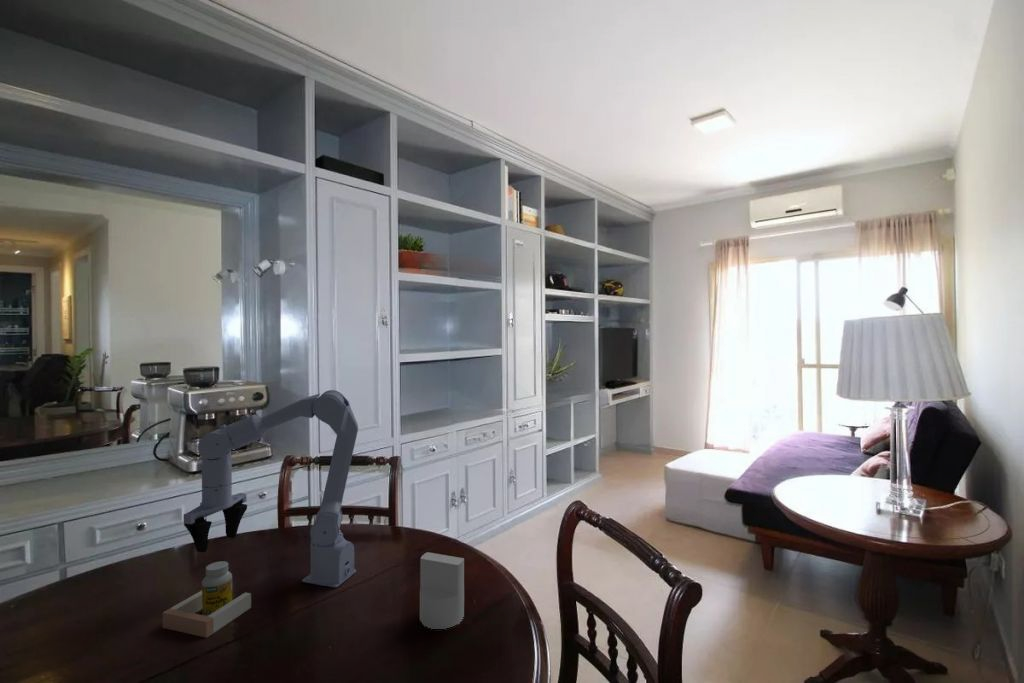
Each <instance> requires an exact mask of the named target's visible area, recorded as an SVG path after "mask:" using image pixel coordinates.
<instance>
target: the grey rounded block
mask: <svg viewBox="0 0 1024 683" xmlns="http://www.w3.org/2000/svg"><path fill="white" fill-rule="evenodd" d="M419 568H420V569H419V570H420V571H419V572H420V576H419V577H420V578H419V581H420V582H419V584H420V588H419V622H420V621H421V622H422V624H423V625H424V626H423V625H422V624H421V625H422V626H423V627H425V626H426V627H428V628H427V629H429V628H431V629H430V630H432V629H445V630H447V629H446V628H450V627H453V626H455V625H457V624H458V625H460V624H461V623H462V622H463V620H464V618H465V558H464V557H458V556H452V555H446V554H440V553H435V552H425V553H424V554H422V555H421V557H420V567H419ZM463 617H464V618H463ZM462 619H463V620H462ZM461 621H462V622H461ZM421 622H420V623H421ZM460 622H461V623H460ZM458 625H457V626H458ZM426 627H425V628H426ZM455 627H456V626H455ZM453 628H454V627H453ZM450 629H451V628H450Z"/></svg>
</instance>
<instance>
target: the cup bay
mask: <svg viewBox="0 0 1024 683" xmlns="http://www.w3.org/2000/svg"><path fill="white" fill-rule="evenodd" d="M249 609H252V593H250V592H246V591H245V592H243V593H242V594H241V595H239V596H237V597H236V598H234V599H232V601H231V602H229V603H228V604H226V605H225V606H223V607H221V608H220V609H218V610H217V611H215V612H213V613H212V614H210V615H209V616H204V615H203V614H199V613H197V612H200V611H202V590H200V591H199V592H197V593H195V594H193V595H191V596H190V597H188V598H186V599H184V600H183V601H181V602H179V603H177V604H175V605H174V606H172V607H170V608H168V609H166V610H164V611H163V612H162V629H166V630H171V631H176V632H180V633H184V634H188V635H194V636H197V637H201V638H209V637H210V636H211V635H213V634H215V633H216V632H218V631H219V630H221V629H222V628H223V627H225V626H226V625H228V624H229V623H230V622H232V621H233V620H235V619H237V618H238V617H240V616H241V615H242V614H244V613H245V612H247V611H249Z"/></svg>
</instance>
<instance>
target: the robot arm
mask: <svg viewBox="0 0 1024 683" xmlns="http://www.w3.org/2000/svg"><path fill="white" fill-rule="evenodd" d="M350 404H351V403H350V401H349V400H348V399H347V398H346V397H345V395H344V394H342V393H341V392H340V391H337V390H333V389H331V390H326V391H324V392H322V394H321V393H316V394H313V395H310V396H307V397H304V398H301V399H299V400H297V401H294V402H293V403H290V404H287V405H285V406H284V407H281V408H279V409H277V410H275V411H272V412H270V413H267V414H266V415H264V416H261V415H258V414H251V415H249V414H248V413H247V414H244V415H242V416H241V418H240V420H237V421H235V422H233V423H230V424H228V425H227V424H223V425H221V426H219V429H214V430H213V431H211V432H209V433H207V434H206V435H204V436H203V437H202V438H201V439H199V442H198V445H197V450H198V453H199V454H200V456H201V460H202V461H201V462H202V463H201V502H200V503H199V505H198V506H197V507H194V509H192V510H189V511H188V512H186V513H184V514H183V525H184V527H185V528H186V529H187V530H186V531H188V532H189V534H190V535H191V538H192V540H193V543H194V546H195V550H196V552H198V553H205V552H207V551H208V547H209V545H208V544H209V533H210V529H211V526H212V524H213V521H210V520H207V519H206V517H207V518H208V517H209V516H212V515H215V514H216V513H218V512H221V511H222V513H223V518H224V524H225V536H226V538H231V539H235V538H236V537H237V534H238V529H239V527H240V523H241V521H242V519H243V516H244V515H245V513H246V511H247V510H248V504H245V503H246V502H247V493H244V492H243V493H242V492H238V493H236V494H232V492H233V491H232V490H233V489H232V488H233V487H232V483H233V482H232V481H233V480H232V476H233V475H232V473H233V472H232V468H233V467H232V464H233V463H232V450H237V449H240V448H242V447H244V446H246V445H249V444H251V443H253V442H256V441H258V440H260V439H263V438H265V436H266V435H267V432H268V430H269V429H271V428H274V427H277V426H279V425H282V424H284V423H287V422H289V421H292V420H295V419H296V418H300V417H303V418H308V419H313V418H314V417H316V418H317V419H318V420H320V421H321V422H322V423H325V424H327V425H328V426H329V427H330V429H332V431H333V432H334V433H335V434H336V439H335V443H334V448H333V451H332V454H331V455H332V456H331V460H330V464H329V470H328V473H327V478H326V483H325V488H324V492H323V496H322V499H321V500H322V501H321V503H320V508H319V510H317V513H316V515H315V520H314V522H313V524H312V526H311V527H310V531H309V532H310V533H309V534H310V535H309V536H310V573H309V574H308V575H307V576H305V577H303V579H302V581H301V582H302V583H306V584H312V585H318V586H324V587H330V588H338V587H339V586H340V585H343V583H344V582H346V581H347V580H348V579H349V578H351V576H353V575H354V574H355V573H357V570H356V569H355V546H354V544H353V542H351V541H349V540H346V539H345V538H344V533H343V532H342V530H341V529H340V528H341V525H342V522H343V512H342V504H343V498H344V493H345V490H346V487H347V486H346V485H347V481H348V477H349V473H350V472H349V471H350V467H351V463H352V459H353V454H354V449H355V445H356V440H357V435H358V433H359V432H358V431H359V424H358V422H357V420H356V418H355V414H354V413H353V410H352V407H351V405H350Z"/></svg>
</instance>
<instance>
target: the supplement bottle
mask: <svg viewBox="0 0 1024 683" xmlns="http://www.w3.org/2000/svg"><path fill="white" fill-rule="evenodd" d="M201 591H202V609H201V612H202V613H201V615H204V616H209V615H210V614H212V613H213V612H215V611H217V610H218V609H220V608H221V607H223V606H225V605H226V604H228V603H229V602H231V601H232V600H233V574H232V572H231V571H229V562H228V561H225V560H224V561H220V560H219V561H215V562H212V563H209V564H208V565H207V566H205V576H204V577H203V579H202V581H201Z"/></svg>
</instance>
